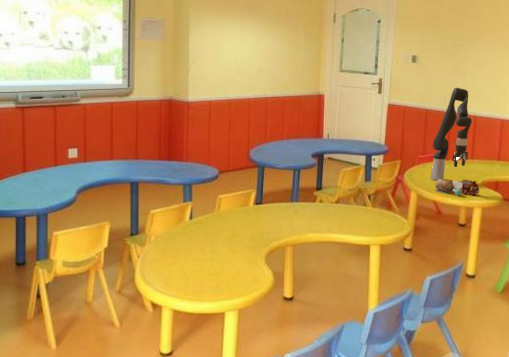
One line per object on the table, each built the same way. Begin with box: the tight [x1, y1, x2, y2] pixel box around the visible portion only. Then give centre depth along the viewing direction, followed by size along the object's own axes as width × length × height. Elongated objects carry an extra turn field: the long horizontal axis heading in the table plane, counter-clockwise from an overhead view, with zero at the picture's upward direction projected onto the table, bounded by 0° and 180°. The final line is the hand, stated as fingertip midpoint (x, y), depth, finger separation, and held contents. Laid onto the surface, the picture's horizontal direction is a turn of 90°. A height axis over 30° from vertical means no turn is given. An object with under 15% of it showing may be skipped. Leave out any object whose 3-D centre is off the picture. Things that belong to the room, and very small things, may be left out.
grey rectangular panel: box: [435, 188, 457, 195], centre depth 483 cm, size 10×21×1 cm, turn 125°
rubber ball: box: [454, 189, 463, 197], centre depth 468 cm, size 5×5×5 cm
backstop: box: [452, 180, 462, 190], centre depth 486 cm, size 11×7×5 cm, turn 35°
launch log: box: [435, 179, 454, 194], centre depth 478 cm, size 10×8×8 cm
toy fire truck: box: [461, 179, 480, 197], centre depth 473 cm, size 7×12×10 cm, turn 61°
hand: (459, 166), depth 477 cm, fingers open, 8 cm apart
